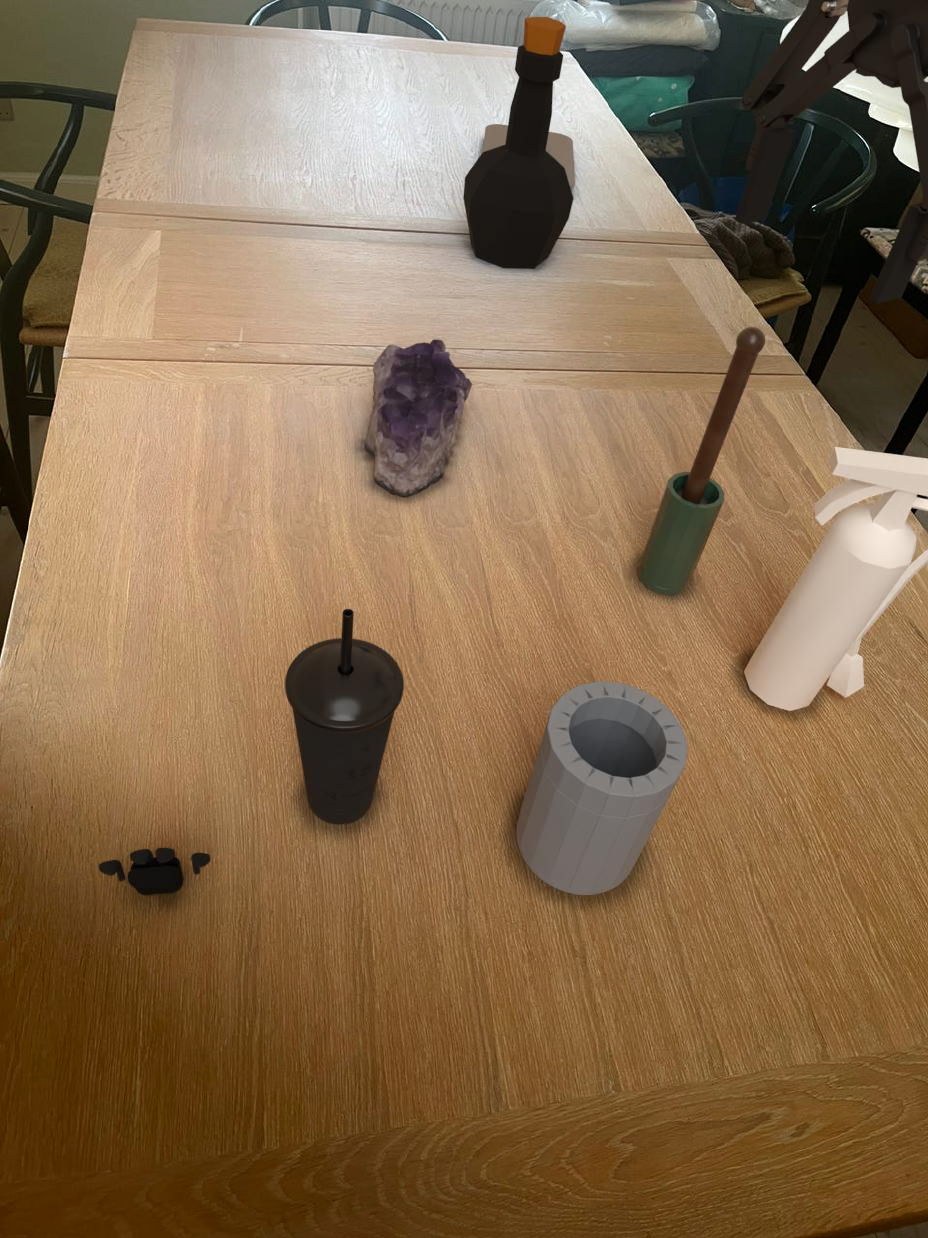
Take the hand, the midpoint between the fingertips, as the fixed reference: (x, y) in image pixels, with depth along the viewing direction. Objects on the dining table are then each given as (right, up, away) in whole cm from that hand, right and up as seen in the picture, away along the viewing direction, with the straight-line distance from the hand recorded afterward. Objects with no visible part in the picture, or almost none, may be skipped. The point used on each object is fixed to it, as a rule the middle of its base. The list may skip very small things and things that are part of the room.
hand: (813, 257), depth 69 cm
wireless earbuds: (-47, -46, -6) cm, 66 cm away
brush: (-6, -22, +22) cm, 32 cm away
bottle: (-19, +28, +70) cm, 78 cm away
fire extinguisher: (+3, -33, +14) cm, 36 cm away
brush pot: (-6, -23, +22) cm, 33 cm away
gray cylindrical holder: (-18, -44, +1) cm, 47 cm away
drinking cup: (-36, -41, +1) cm, 54 cm away
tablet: (-15, +53, +95) cm, 110 cm away
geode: (-32, -8, +33) cm, 47 cm away
